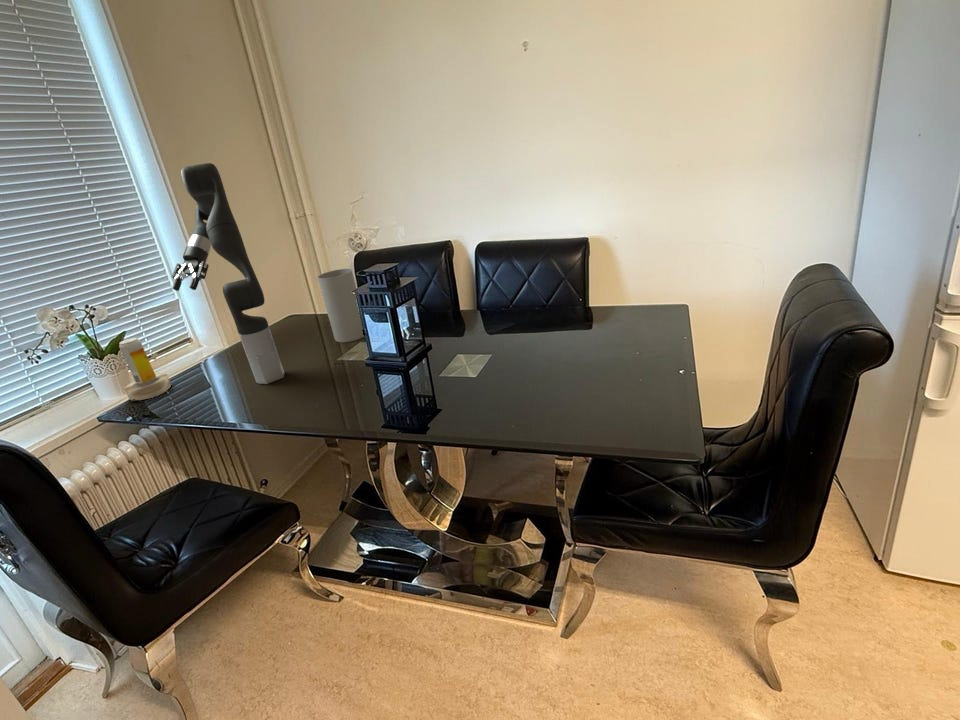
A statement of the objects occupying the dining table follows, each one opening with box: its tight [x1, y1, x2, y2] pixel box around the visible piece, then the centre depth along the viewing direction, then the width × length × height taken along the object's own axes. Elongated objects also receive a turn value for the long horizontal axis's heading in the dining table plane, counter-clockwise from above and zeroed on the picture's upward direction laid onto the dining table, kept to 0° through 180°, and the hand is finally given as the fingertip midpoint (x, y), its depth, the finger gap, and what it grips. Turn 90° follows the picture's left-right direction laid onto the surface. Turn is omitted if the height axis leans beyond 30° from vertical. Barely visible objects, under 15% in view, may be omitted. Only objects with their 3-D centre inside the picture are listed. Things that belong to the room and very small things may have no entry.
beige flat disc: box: [124, 373, 173, 401], centre depth 176 cm, size 13×13×4 cm
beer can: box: [118, 337, 156, 385], centre depth 172 cm, size 6×6×15 cm
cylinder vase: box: [316, 268, 365, 344], centre depth 194 cm, size 12×12×25 cm
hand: (183, 289), depth 187 cm, fingers open, 8 cm apart
